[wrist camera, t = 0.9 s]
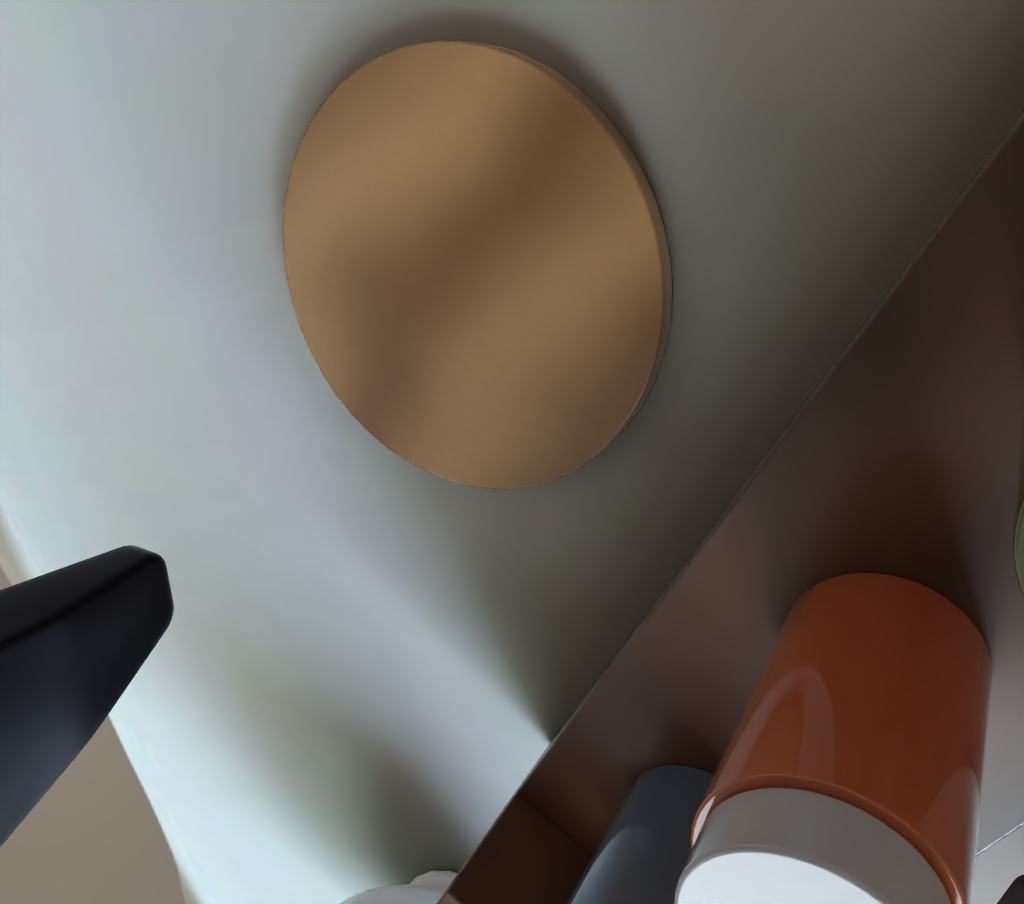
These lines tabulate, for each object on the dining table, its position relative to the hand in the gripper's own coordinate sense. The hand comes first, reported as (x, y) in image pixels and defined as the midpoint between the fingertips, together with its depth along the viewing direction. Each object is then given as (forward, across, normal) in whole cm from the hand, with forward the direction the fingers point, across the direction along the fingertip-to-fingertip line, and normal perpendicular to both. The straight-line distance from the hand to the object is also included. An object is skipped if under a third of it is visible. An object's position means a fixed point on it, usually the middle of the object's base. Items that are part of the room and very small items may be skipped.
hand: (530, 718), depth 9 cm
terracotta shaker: (+8, -5, +5) cm, 11 cm away
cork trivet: (+13, +7, +2) cm, 15 cm away
